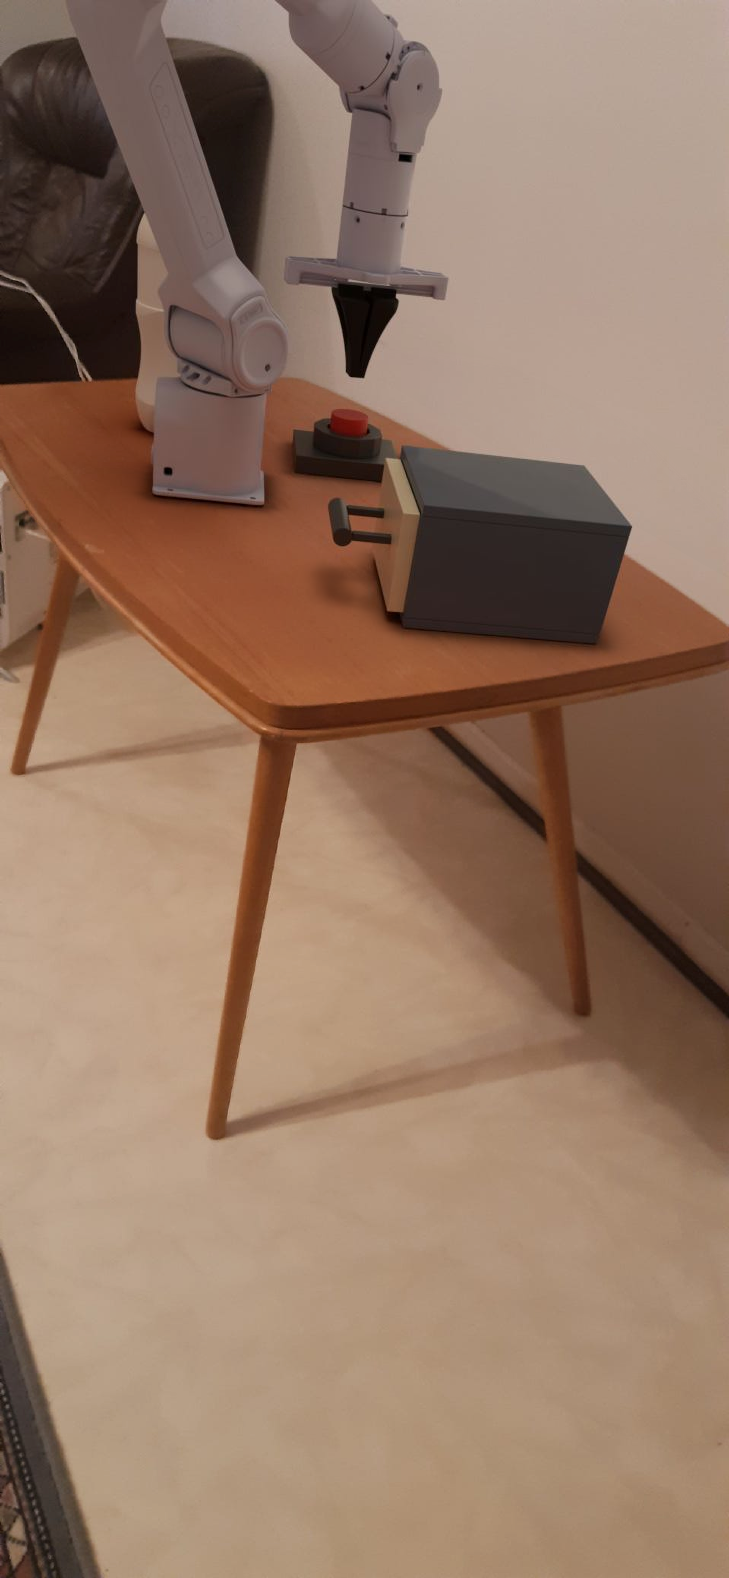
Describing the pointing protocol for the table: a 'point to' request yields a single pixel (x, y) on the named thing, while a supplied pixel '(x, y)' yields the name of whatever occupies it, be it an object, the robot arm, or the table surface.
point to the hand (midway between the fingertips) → (354, 375)
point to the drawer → (385, 531)
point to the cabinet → (511, 546)
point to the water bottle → (151, 325)
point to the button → (349, 422)
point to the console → (341, 452)
